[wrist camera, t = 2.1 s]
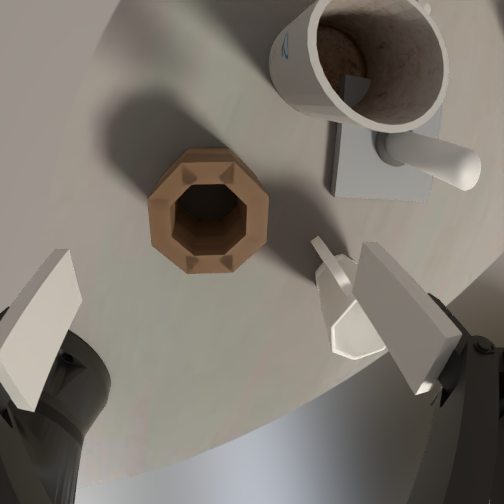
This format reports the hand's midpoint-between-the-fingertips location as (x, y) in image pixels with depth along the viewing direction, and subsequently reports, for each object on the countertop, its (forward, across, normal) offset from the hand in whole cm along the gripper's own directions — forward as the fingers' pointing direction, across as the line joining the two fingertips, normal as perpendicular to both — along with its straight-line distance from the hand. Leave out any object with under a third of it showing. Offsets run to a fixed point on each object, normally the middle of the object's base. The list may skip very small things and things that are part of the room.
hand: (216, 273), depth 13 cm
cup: (+12, +10, -7) cm, 18 cm away
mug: (+13, +10, +12) cm, 20 cm away
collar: (+12, 0, 0) cm, 12 cm away
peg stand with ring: (+12, +15, +5) cm, 20 cm away
